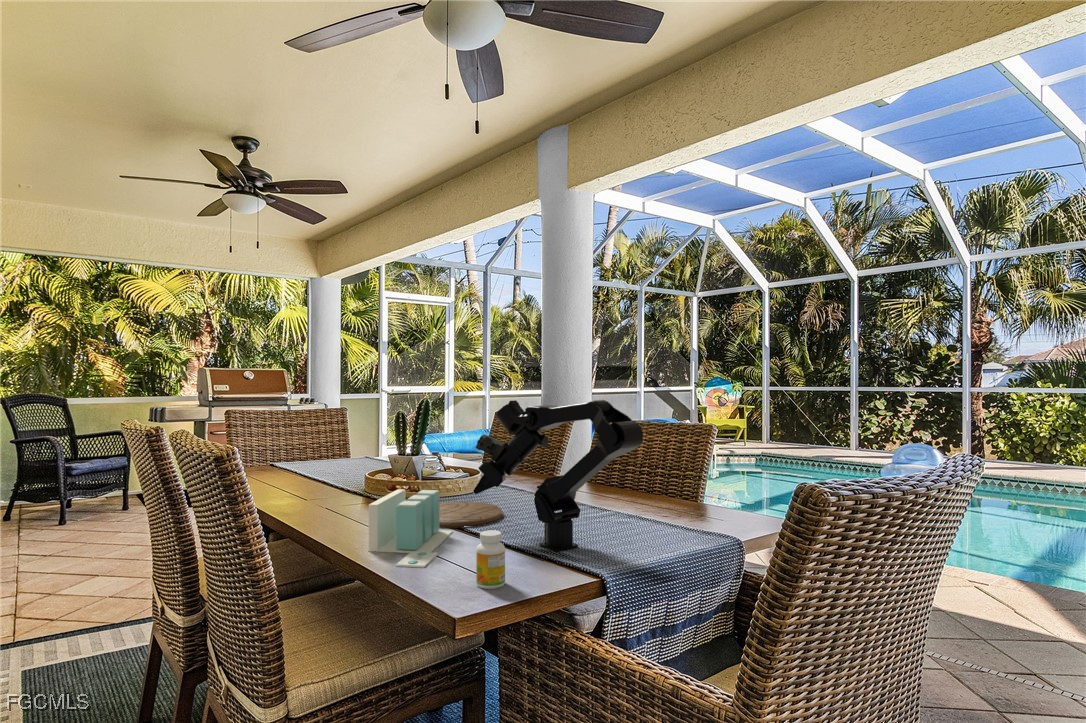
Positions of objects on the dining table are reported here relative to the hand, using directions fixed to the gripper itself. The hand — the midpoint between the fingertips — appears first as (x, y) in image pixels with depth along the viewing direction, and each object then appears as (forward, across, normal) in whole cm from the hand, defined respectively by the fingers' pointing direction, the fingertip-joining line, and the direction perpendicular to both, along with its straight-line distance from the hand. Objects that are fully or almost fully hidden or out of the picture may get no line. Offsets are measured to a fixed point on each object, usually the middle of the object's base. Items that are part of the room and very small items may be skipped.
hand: (474, 492), depth 155 cm
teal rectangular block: (+16, 0, -1) cm, 16 cm away
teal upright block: (+16, +6, -1) cm, 17 cm away
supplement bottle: (0, +33, +16) cm, 37 cm away
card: (+13, +21, +2) cm, 24 cm away
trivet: (+15, -19, +1) cm, 24 cm away
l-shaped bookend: (+17, +7, -2) cm, 18 cm away
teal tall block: (+16, +13, -1) cm, 20 cm away
